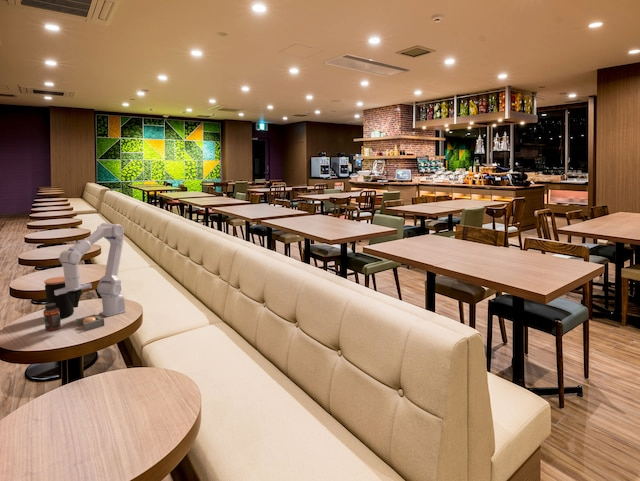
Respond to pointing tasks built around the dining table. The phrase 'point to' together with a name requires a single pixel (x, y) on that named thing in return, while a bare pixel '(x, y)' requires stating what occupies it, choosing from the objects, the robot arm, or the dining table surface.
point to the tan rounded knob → (88, 319)
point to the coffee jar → (58, 296)
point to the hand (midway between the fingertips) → (75, 306)
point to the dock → (93, 324)
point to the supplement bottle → (52, 317)
